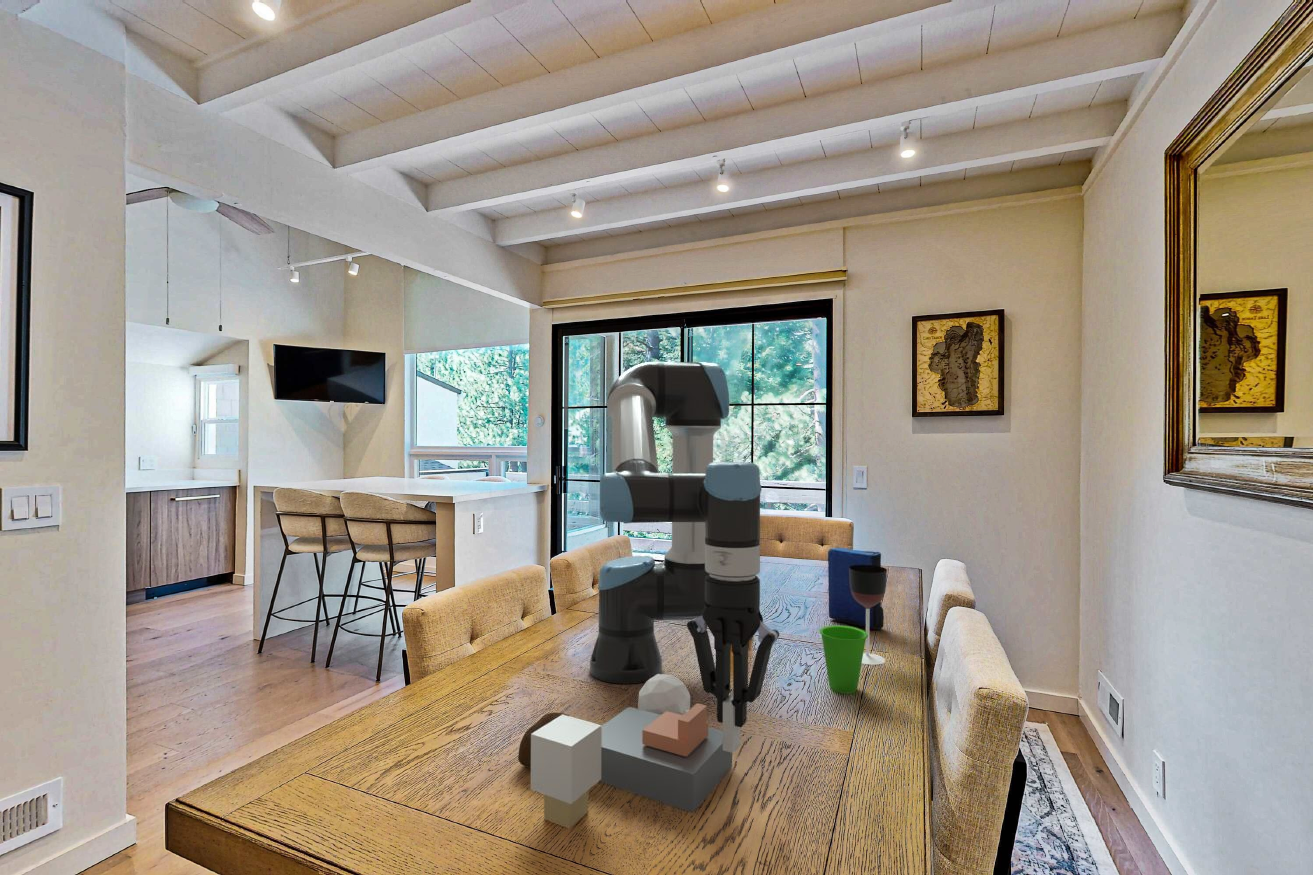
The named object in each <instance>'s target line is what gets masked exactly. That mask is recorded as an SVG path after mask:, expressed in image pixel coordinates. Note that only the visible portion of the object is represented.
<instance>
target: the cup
mask: <svg viewBox="0 0 1313 875" xmlns="http://www.w3.org/2000/svg"><path fill="white" fill-rule="evenodd" d="M819 633H820V634H821V640H822V641H821V642H822V646H823V653H824V658H825V659H824V661H825V667H826V672H827V678H828V679H827V680H828V685H829V687H830V689H831V690H832V691H834V692H836V693H840V694H846V695H848V694H854V693H856V691H857V690H858V688H859V682H860V681H859V680H860V675H861V668H862V664H863V663H862V658H863V653H865V651H864V650H865V647H866V638H867V637H868V634H867V633H866V630H863V629H860V628H858V627H854V626H849V625H841V624H840V625H837V624H836V625H827V626H822V627H821V628H820V629H819Z"/></svg>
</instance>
